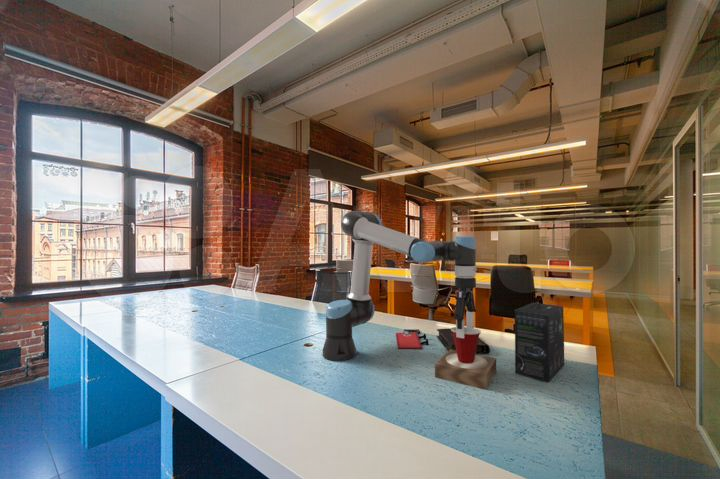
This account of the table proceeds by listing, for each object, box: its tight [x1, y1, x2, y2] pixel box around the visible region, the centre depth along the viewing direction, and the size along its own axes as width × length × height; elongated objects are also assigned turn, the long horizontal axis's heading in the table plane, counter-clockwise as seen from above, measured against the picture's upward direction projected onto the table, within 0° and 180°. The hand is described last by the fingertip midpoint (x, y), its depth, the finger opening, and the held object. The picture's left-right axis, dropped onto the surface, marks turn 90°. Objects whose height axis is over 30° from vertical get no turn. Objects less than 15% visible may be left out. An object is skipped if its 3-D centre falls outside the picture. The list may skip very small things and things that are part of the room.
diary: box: [436, 328, 491, 355], centre depth 150 cm, size 19×25×5 cm
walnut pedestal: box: [434, 349, 497, 390], centre depth 117 cm, size 18×18×5 cm
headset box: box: [514, 301, 565, 383], centre depth 121 cm, size 22×12×26 cm, turn 135°
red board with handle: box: [395, 328, 430, 351], centre depth 159 cm, size 30×3×15 cm
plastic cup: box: [450, 326, 482, 364], centre depth 117 cm, size 11×11×12 cm
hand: (465, 332), depth 117 cm, fingers open, 13 cm apart
